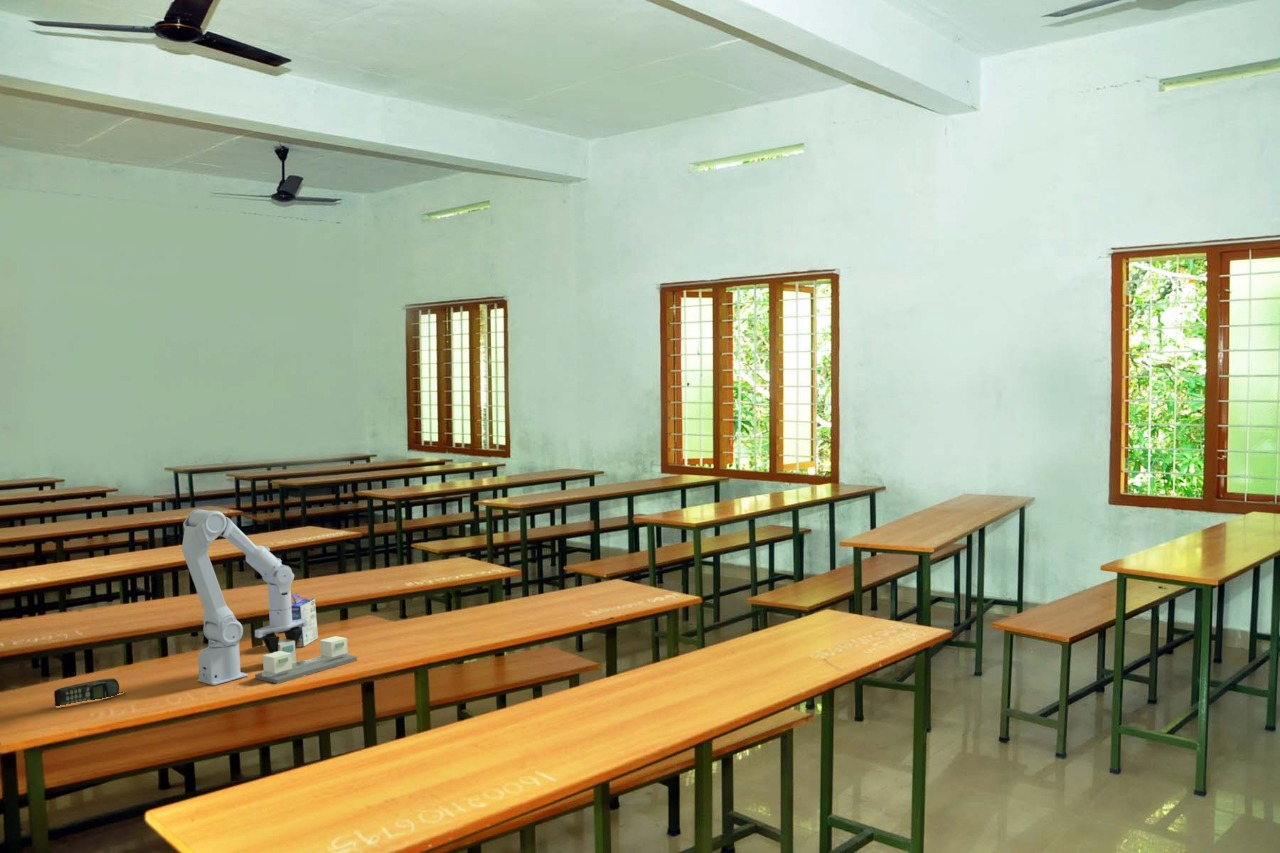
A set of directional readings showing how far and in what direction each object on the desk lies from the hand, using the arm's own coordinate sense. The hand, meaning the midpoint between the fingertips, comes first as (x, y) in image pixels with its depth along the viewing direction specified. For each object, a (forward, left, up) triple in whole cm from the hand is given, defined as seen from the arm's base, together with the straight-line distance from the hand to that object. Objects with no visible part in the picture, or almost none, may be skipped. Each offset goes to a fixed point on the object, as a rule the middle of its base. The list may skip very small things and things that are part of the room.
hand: (283, 658), depth 264 cm
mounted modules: (0, -11, +1) cm, 11 cm away
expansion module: (0, 0, -1) cm, 1 cm away
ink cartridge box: (+16, +15, -2) cm, 22 cm away
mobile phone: (-44, +13, -2) cm, 46 cm away
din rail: (0, -11, -1) cm, 11 cm away
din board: (0, -11, -1) cm, 11 cm away
